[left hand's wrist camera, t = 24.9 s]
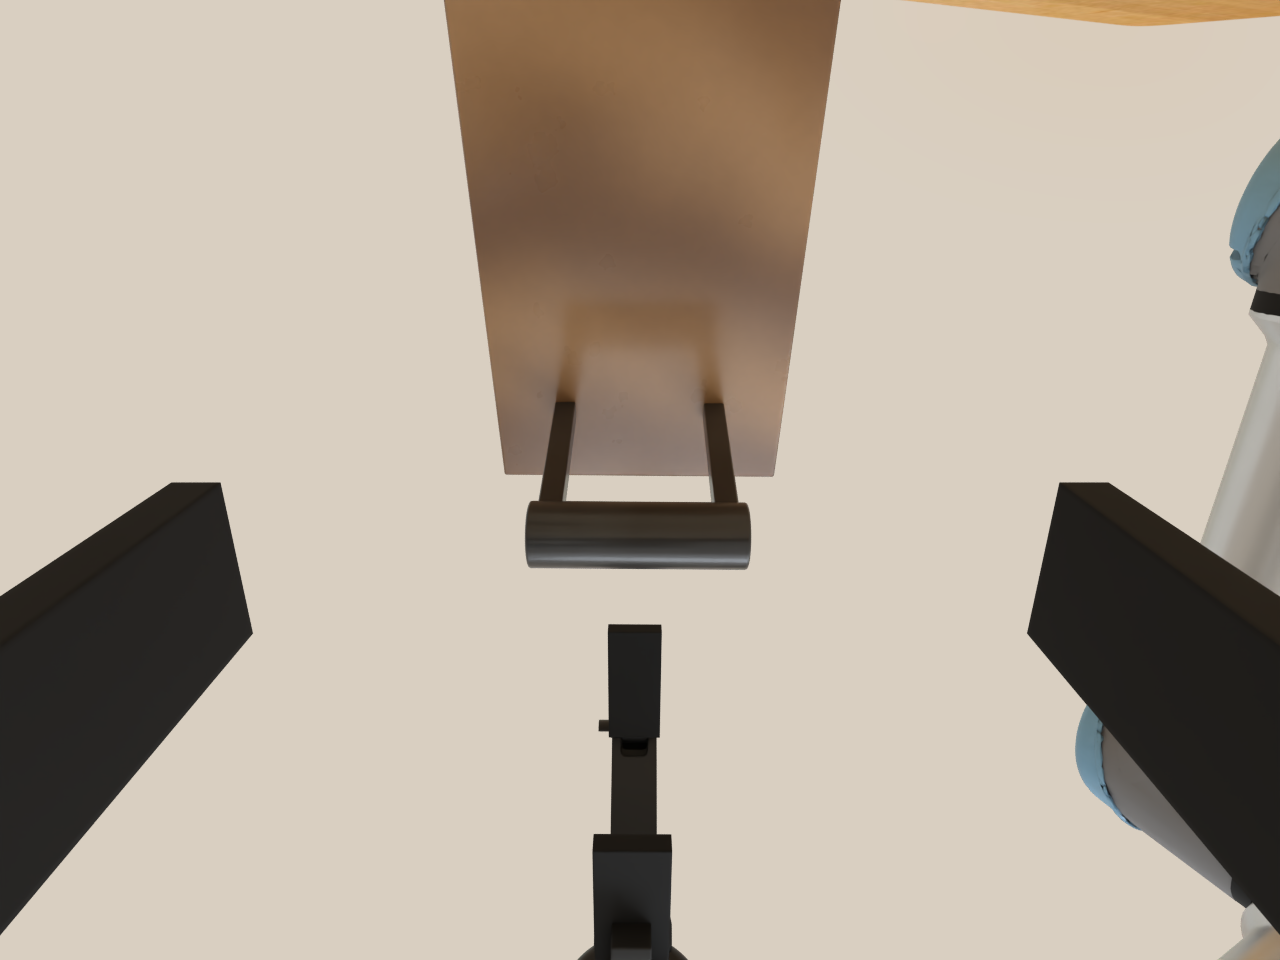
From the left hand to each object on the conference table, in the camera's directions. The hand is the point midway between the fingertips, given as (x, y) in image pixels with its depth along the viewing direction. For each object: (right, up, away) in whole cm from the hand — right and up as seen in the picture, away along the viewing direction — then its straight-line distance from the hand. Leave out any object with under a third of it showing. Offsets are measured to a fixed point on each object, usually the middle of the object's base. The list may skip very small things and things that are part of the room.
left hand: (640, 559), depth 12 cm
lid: (0, +9, +12) cm, 15 cm away
